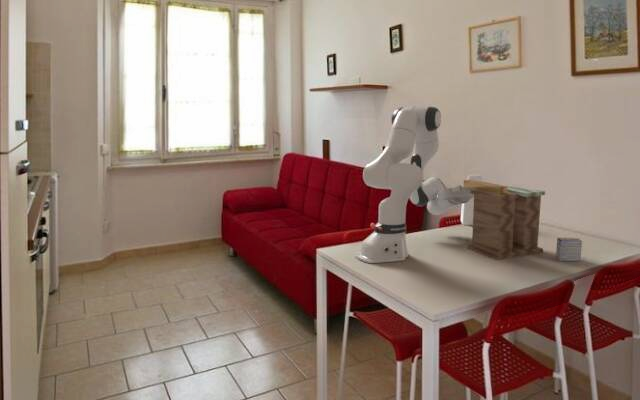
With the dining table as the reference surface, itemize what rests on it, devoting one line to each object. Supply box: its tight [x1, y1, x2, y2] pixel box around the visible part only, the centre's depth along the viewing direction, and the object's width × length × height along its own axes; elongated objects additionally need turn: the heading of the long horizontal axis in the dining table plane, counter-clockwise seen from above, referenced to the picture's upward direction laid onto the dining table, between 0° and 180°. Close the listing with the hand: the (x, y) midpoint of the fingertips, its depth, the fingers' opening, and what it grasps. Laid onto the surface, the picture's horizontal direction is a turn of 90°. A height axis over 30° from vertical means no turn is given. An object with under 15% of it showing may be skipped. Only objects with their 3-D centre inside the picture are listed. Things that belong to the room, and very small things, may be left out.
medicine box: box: [555, 237, 583, 262], centre depth 189 cm, size 8×4×9 cm, turn 84°
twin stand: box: [466, 185, 546, 261], centre depth 202 cm, size 25×18×26 cm
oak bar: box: [462, 179, 508, 194], centre depth 202 cm, size 4×22×3 cm, turn 22°
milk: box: [460, 174, 485, 226], centre depth 253 cm, size 12×12×26 cm
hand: (468, 186), depth 211 cm, fingers open, 8 cm apart
